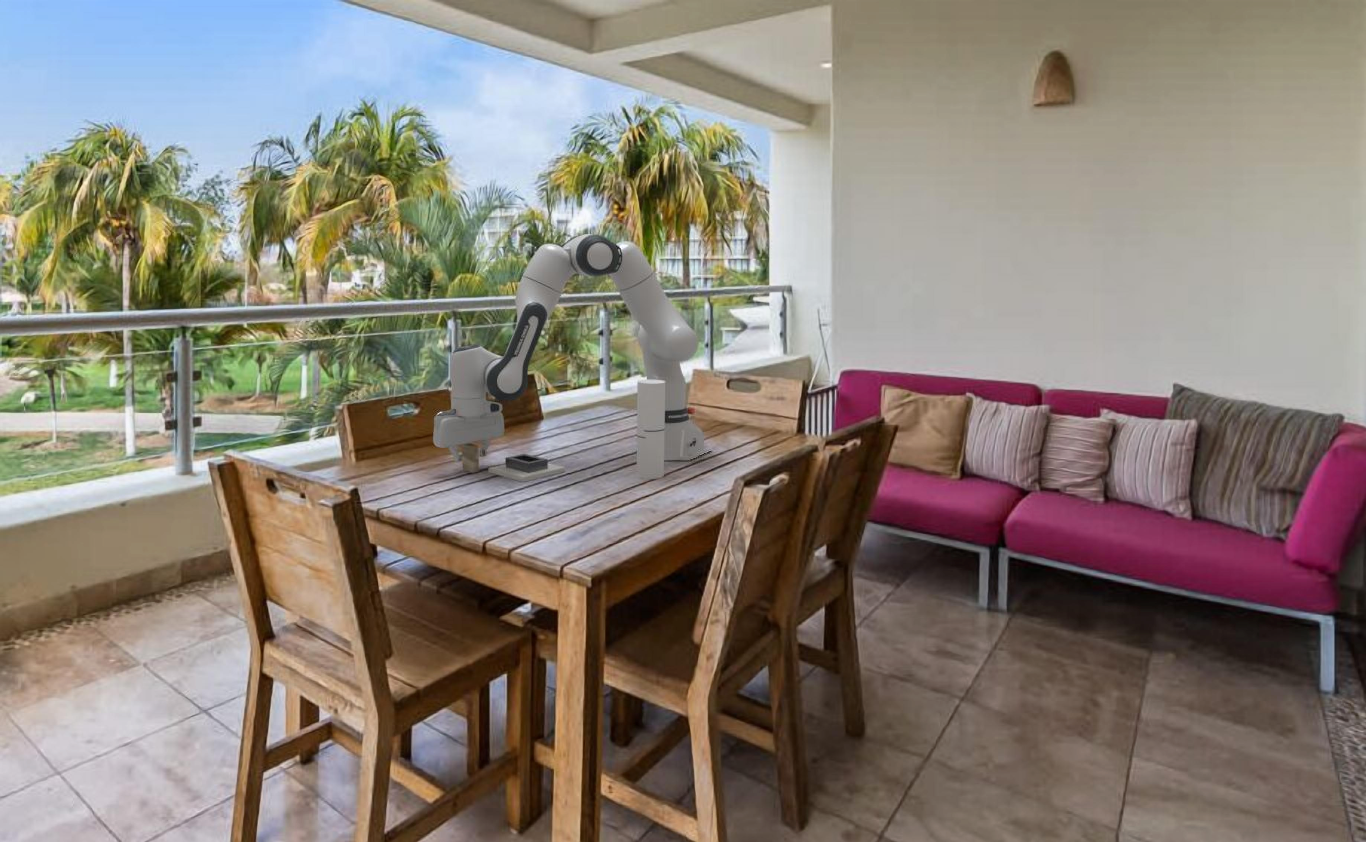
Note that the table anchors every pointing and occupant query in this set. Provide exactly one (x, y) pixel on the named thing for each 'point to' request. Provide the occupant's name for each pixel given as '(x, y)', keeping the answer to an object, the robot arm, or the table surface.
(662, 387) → the cylindrical container
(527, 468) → the frame
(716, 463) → the table surface
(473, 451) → the wooden block
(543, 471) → the plate
